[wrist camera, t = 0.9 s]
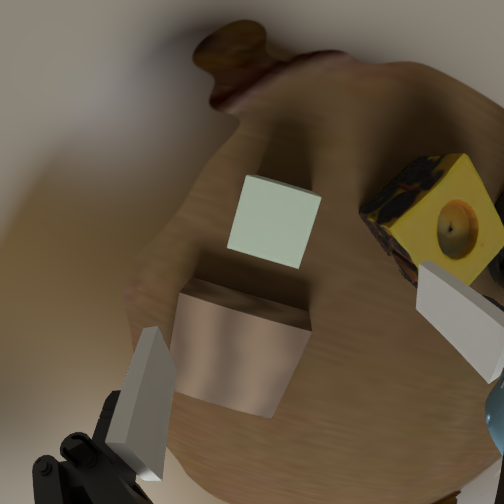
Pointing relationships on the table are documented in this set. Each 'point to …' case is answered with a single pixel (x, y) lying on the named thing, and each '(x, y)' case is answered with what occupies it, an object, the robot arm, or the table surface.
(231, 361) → the walnut block
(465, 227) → the candle
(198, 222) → the table surface
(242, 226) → the sage block
